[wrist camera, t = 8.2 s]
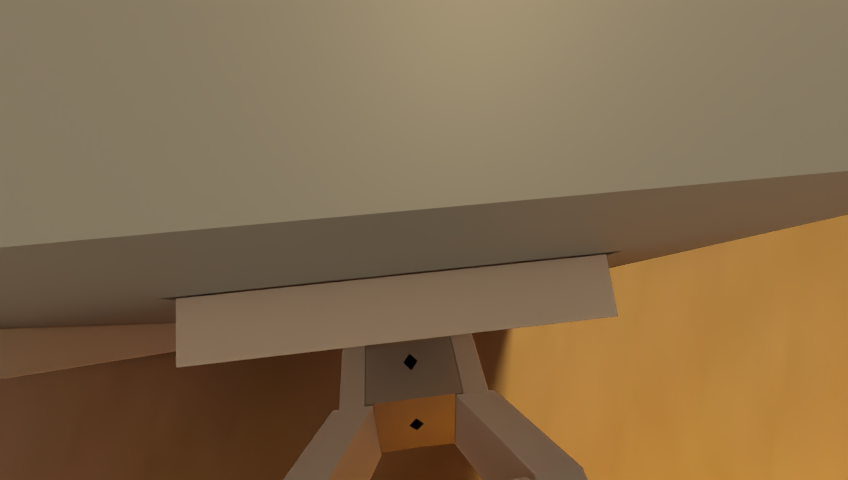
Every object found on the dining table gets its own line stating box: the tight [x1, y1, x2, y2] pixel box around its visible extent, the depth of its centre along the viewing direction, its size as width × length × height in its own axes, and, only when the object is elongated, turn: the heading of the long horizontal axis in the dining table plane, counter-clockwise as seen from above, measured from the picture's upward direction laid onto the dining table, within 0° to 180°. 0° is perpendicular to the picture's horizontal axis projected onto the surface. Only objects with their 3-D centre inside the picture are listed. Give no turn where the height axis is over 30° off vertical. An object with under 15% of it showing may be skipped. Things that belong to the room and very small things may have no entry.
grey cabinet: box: [0, 0, 848, 329], centre depth 9 cm, size 13×18×13 cm
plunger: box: [176, 254, 618, 368], centre depth 11 cm, size 12×5×9 cm, turn 6°
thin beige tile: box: [0, 323, 176, 380], centre depth 10 cm, size 12×5×9 cm, turn 6°
